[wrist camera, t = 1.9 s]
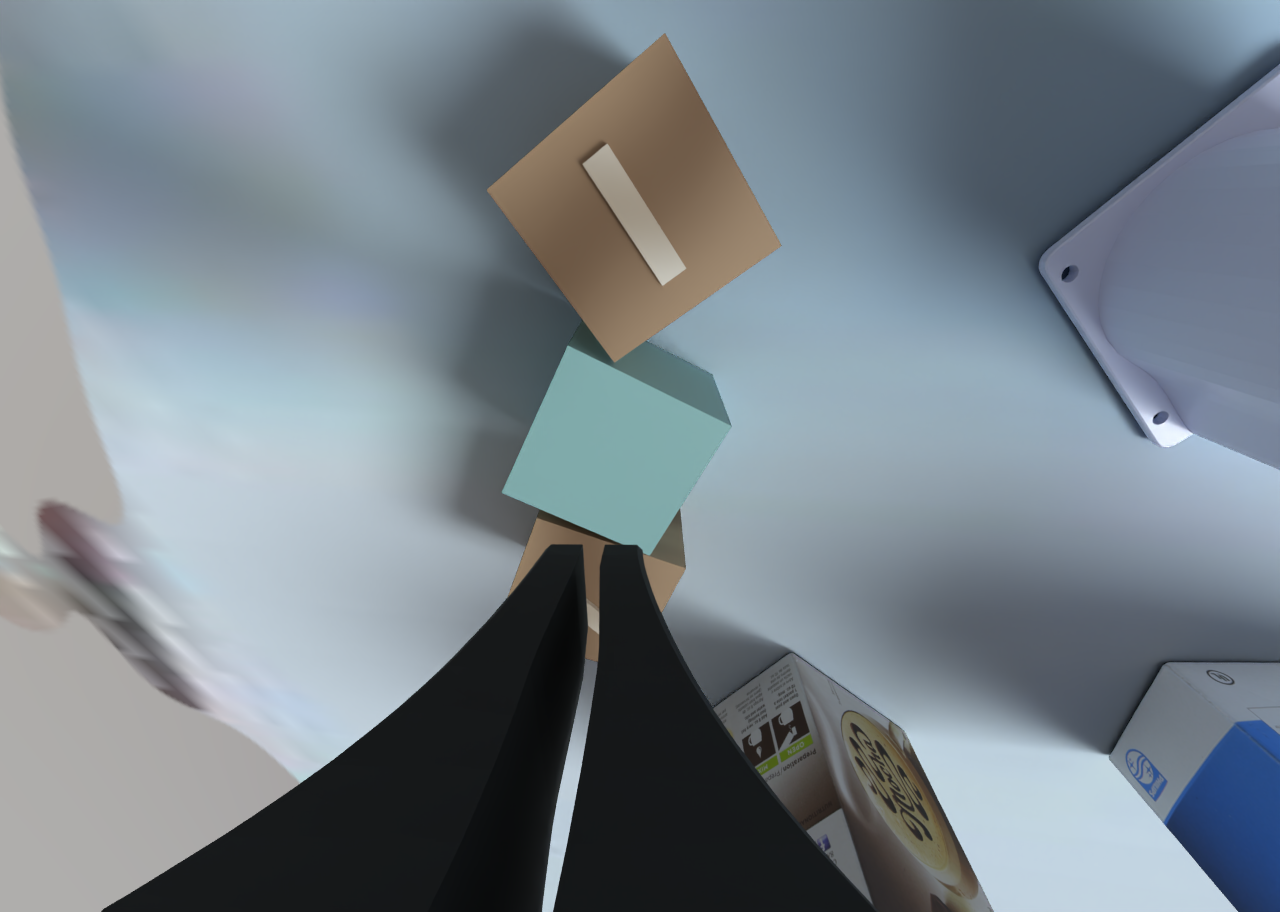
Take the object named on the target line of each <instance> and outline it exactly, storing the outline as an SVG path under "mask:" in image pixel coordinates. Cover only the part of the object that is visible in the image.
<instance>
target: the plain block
mask: <svg viewBox="0 0 1280 912" xmlns="http://www.w3.org/2000/svg"><path fill="white" fill-rule="evenodd" d="M731 427H732V426H731V423H730V420H729V418H728V415H727V412H726V410H725V407H724V404H723V402H722V399H721V396H720V394H719V391H718V388H717V386H716V383H715V381H714V378H713V375H712V374H710V373H708V372H706V371H704V370H702V369H700V368H698V367H696V366H694V365H692V364H690V363H688V362H686V361H684V360H683V359H681V358H679V357H677V356H675V355H673V354H671V353H669V352H667V351H665V350H663V349H661V348H659V347H657V346H655V345H653V344H651V343H649V342H647V341H645V342H643V343H642V344H640V345H639V346H638V347H636V348H635V349H633V350H632V351H630V352H629V353H628V354H626V355H625V356H623V357H622V358H620V359H619V360H618V361H616V362H615V363H614V362H613V360H612V359H611V357H610V356H609V355H608V353H607V352H606V351H605V349H604V348H603V347H602V345H601V344H600V343H599V341H598V340H597V339H596V337H595V336H594V335H593V333H592V332H591V330H590V329H589V328H588V326H587V325H586V324H585V322H584V321H583V320H582V322H581V323H580V325H579V327H578V329H577V330H576V332H575V334H574V335H573V337H572V339H571V341H570V342H569V344H568V346H567V348H566V350H565V353H564V355H563V357H562V359H561V362H560V364H559V366H558V368H557V370H556V373H555V375H554V377H553V379H552V382H551V384H550V386H549V388H548V390H547V393H546V395H545V397H544V399H543V402H542V404H541V406H540V408H539V411H538V413H537V415H536V417H535V419H534V422H533V424H532V426H531V428H530V431H529V433H528V435H527V437H526V439H525V442H524V444H523V446H522V448H521V451H520V453H519V455H518V457H517V460H516V462H515V464H514V466H513V468H512V471H511V473H510V475H509V477H508V480H507V482H506V484H505V486H504V488H503V491H502V493H503V494H505V495H508V496H510V497H512V498H515V499H517V500H519V501H522V502H524V503H526V504H529V505H531V506H534V507H536V508H538V509H541V510H543V511H545V512H548V513H550V514H552V515H555V516H557V517H559V518H562V519H564V520H567V521H569V522H571V523H574V524H576V525H578V526H581V527H583V528H585V529H588V530H590V531H592V532H595V533H597V534H599V535H602V536H604V537H607V538H609V539H611V540H614V541H616V542H618V543H621V544H623V545H638V546H639V547H640V548H641V549H642V550H643V553H644V554H647V555H649V556H650V554H651V553H652V551H653V550H654V548H655V547H656V545H657V543H658V542H659V540H660V539H661V537H662V536H663V534H664V532H665V531H666V529H667V528H668V526H669V525H670V523H671V521H672V520H673V518H674V517H675V515H676V513H677V512H678V510H679V509H680V507H681V506H682V504H683V502H684V501H685V499H686V498H687V496H688V495H689V493H690V491H691V490H692V488H693V487H694V485H695V483H696V482H697V480H698V479H699V477H700V476H701V474H702V472H703V471H704V469H705V468H706V466H707V465H708V463H709V461H710V460H711V458H712V457H713V455H714V454H715V452H716V450H717V449H718V447H719V446H720V444H721V442H722V441H723V439H724V438H725V436H726V435H727V433H728V431H729V430H730V428H731Z"/></svg>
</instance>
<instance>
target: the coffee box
mask: <svg viewBox="0 0 1280 912" xmlns="http://www.w3.org/2000/svg"><path fill="white" fill-rule="evenodd" d="M713 709H714V711H715V712H716V714H717V715H718V717H719V718H720V720H721V721H722V723H723V724H724V726H725V727H726V729H727V730H728V732H729V733H730V734H731V736H732V737H733V739H734V740H735V742H736V743H737V744H738V746H739V747H740V748H741V750H742V751H743V752H744V754H745V755H746V756H747V758H748V759H749V760H750V761H751V763H752V764H753V765H754V767H755V768H756V769H757V771H758V772H759V773H760V775H761V776H762V777H763V778H764V780H765V781H766V782H767V784H768V785H769V786H770V788H771V789H772V790H773V792H774V793H775V794H776V795H777V797H778V798H779V799H780V801H781V802H782V803H783V804H784V805H785V807H786V808H787V809H788V810H789V811H790V812H791V814H792V815H793V816H794V817H795V818H796V820H797V821H798V822H799V823H800V824H801V826H802V827H803V828H804V829H805V830H806V831H807V833H808V834H809V835H810V836H811V837H812V839H813V840H814V841H815V842H816V843H817V844H818V845H819V847H820V848H821V849H822V850H823V851H824V852H825V853H826V854H827V855H828V857H829V858H830V859H831V860H832V861H833V862H834V863H835V864H836V866H837V867H838V868H839V869H840V870H841V871H842V872H843V873H844V874H845V876H846V877H847V878H848V879H849V880H850V881H851V882H852V883H853V884H854V885H855V886H856V887H857V888H858V890H859V891H860V892H861V893H862V894H863V895H864V896H865V897H866V898H867V899H868V900H869V901H870V902H871V903H872V904H873V906H874V907H875V908H876V909H877V910H878V911H879V912H994V911H993V909H992V907H991V905H990V903H989V901H988V899H987V897H986V895H985V893H984V891H983V889H982V887H981V885H980V883H979V881H978V879H977V877H976V875H975V873H974V871H973V869H972V867H971V865H970V863H969V861H968V859H967V857H966V855H965V853H964V851H963V849H962V847H961V845H960V843H959V841H958V839H957V837H956V835H955V833H954V831H953V829H952V827H951V825H950V823H949V821H948V819H947V817H946V814H945V812H944V810H943V809H942V807H941V805H940V803H939V801H938V799H937V797H936V795H935V793H934V791H933V788H932V786H931V784H930V782H929V780H928V778H927V776H926V774H925V772H924V770H923V768H922V766H921V764H920V762H919V760H918V758H917V756H916V754H915V752H914V750H913V748H912V746H911V743H910V741H909V739H908V737H907V735H906V734H905V732H904V731H903V730H902V729H900V728H899V727H898V726H896V725H895V724H894V723H892V722H891V721H889V720H888V719H886V718H885V717H884V716H882V715H881V714H879V713H878V712H877V711H875V710H874V709H872V708H871V707H869V706H868V705H866V704H865V703H864V702H862V701H861V700H859V699H858V698H856V697H855V696H854V695H852V694H851V693H849V692H848V691H846V690H845V689H844V688H842V687H841V686H839V685H838V684H836V683H835V682H833V681H832V680H831V679H829V678H828V677H826V676H825V675H824V674H822V673H821V672H819V671H818V670H816V669H815V668H814V667H812V666H811V665H809V664H808V663H806V662H805V661H804V660H802V659H801V658H799V657H798V656H796V655H795V654H793V653H790V654H788V655H786V656H785V657H784V658H782V659H781V660H779V661H778V662H777V663H775V664H774V665H772V666H771V667H770V668H768V669H767V670H766V671H764V672H763V673H762V674H760V675H759V676H757V677H756V678H754V679H753V680H752V681H750V682H749V683H748V684H746V685H745V686H743V687H742V688H741V689H739V690H738V691H736V692H735V693H734V694H732V695H731V696H729V697H728V698H727V699H725V700H724V701H723V702H721V703H720V704H718V705H717V706H716V707H714V708H713Z"/></svg>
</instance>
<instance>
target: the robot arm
mask: <svg viewBox="0 0 1280 912" xmlns="http://www.w3.org/2000/svg"><path fill="white" fill-rule="evenodd" d="M1068 266H1069V268H1070V272H1069V274H1068V276H1067V277H1066V278H1065V279H1063V280H1062V278H1061V275H1062V272H1063V271H1064V269H1065V268H1066V267H1068ZM1039 270H1040V273H1041V275H1042V276H1043V278H1044V279H1045V281H1046V282H1047V284H1048V285H1049V287H1050V288H1051V290H1052V291H1053V293H1054V295H1055V296H1056V298H1057V299H1058V301H1059V302H1060V304H1061V305H1062V307H1063V308H1064V310H1065V311H1066V313H1067V315H1068V316H1069V318H1070V319H1071V321H1072V322H1073V324H1074V325H1075V327H1076V328H1077V330H1078V331H1079V333H1080V335H1081V336H1082V338H1083V339H1084V341H1085V342H1086V344H1087V345H1088V347H1089V348H1090V350H1091V351H1092V353H1093V354H1094V356H1095V358H1096V359H1097V361H1098V362H1099V364H1100V365H1101V367H1102V368H1103V370H1104V371H1105V373H1106V374H1107V376H1108V378H1109V379H1110V381H1111V382H1112V384H1113V385H1114V387H1115V388H1116V390H1117V391H1118V393H1119V394H1120V396H1121V397H1122V399H1123V401H1124V402H1125V404H1126V405H1127V407H1128V408H1129V410H1130V411H1131V413H1132V414H1133V416H1134V417H1135V419H1136V421H1137V422H1138V424H1139V425H1140V427H1141V428H1142V430H1143V431H1144V433H1145V434H1146V436H1147V437H1148V439H1149V441H1150V442H1152V443H1153V444H1155V445H1157V446H1159V447H1163V448H1167V447H1171V446H1174V445H1176V444H1178V443H1179V442H1181V441H1182V440H1184V439H1186V438H1187V437H1189V436H1191V435H1192V434H1196V435H1198V436H1200V437H1203V438H1205V439H1208V440H1210V441H1212V442H1215V443H1217V444H1219V445H1222V446H1224V447H1227V448H1229V449H1231V450H1234V451H1236V452H1239V453H1241V454H1243V455H1246V456H1248V457H1250V458H1253V459H1255V460H1258V461H1260V462H1262V463H1265V464H1267V465H1269V466H1272V467H1274V468H1277V469H1279V470H1280V64H1279V65H1278V66H1277V67H1275V68H1274V69H1273V70H1271V71H1270V72H1269V73H1268V74H1266V75H1265V76H1264V77H1263V78H1261V79H1260V80H1259V81H1258V82H1256V83H1255V84H1254V85H1253V86H1251V87H1250V88H1249V89H1248V90H1246V91H1245V92H1244V93H1243V94H1241V95H1240V96H1239V97H1238V98H1236V99H1235V100H1234V101H1233V102H1231V103H1230V104H1229V105H1228V106H1226V107H1225V108H1224V109H1223V110H1221V111H1220V112H1219V113H1218V114H1216V115H1215V116H1214V117H1213V118H1211V119H1210V120H1209V121H1208V122H1206V123H1205V124H1204V125H1203V126H1201V127H1200V128H1199V129H1198V130H1196V131H1195V132H1194V133H1193V134H1191V135H1190V136H1189V137H1188V138H1186V139H1185V140H1184V141H1183V142H1181V143H1180V144H1179V145H1178V146H1176V147H1175V148H1174V149H1173V150H1171V151H1170V152H1169V153H1168V154H1166V155H1165V156H1164V157H1163V158H1161V159H1160V160H1159V161H1158V162H1156V163H1155V164H1154V165H1153V166H1151V167H1150V168H1149V169H1148V170H1146V171H1145V172H1144V173H1143V174H1141V175H1140V176H1139V177H1138V178H1136V179H1135V180H1134V181H1133V182H1131V183H1130V184H1129V185H1128V186H1126V187H1125V188H1124V189H1123V190H1121V191H1120V192H1119V193H1118V194H1116V195H1115V196H1114V197H1113V198H1111V199H1110V200H1109V201H1108V202H1106V203H1105V204H1104V205H1103V206H1101V207H1100V208H1099V209H1098V210H1096V211H1095V212H1094V213H1093V214H1091V215H1090V216H1089V217H1088V218H1086V219H1085V220H1084V221H1083V222H1081V223H1080V224H1079V225H1078V226H1076V227H1075V228H1074V229H1073V230H1071V231H1070V232H1069V233H1068V234H1066V235H1065V236H1064V237H1063V238H1061V239H1060V240H1059V241H1058V242H1056V243H1055V244H1054V245H1053V246H1051V247H1050V248H1049V249H1048V250H1047V251H1046V252H1045V253H1044V254H1043V255H1042V257H1041V259H1040V261H1039ZM1157 413H1158V415H1157V417H1155V418H1154V419H1153V417H1154V416H1155V415H1156V414H1157ZM587 633H588V616H587V601H586V585H585V570H584V554H583V544H551V545H550V546H549V547H548V548H546V549H545V551H544V552H543V554H542V555H541V556H540V558H539V559H538V560H537V561H536V563H535V564H534V565H533V567H532V568H531V569H530V571H529V572H528V573H527V574H526V576H525V577H524V578H523V580H522V581H521V582H520V583H519V585H518V586H517V587H516V588H515V589H514V591H513V592H512V593H511V594H510V595H509V597H508V598H507V599H506V600H505V601H504V602H503V604H502V605H501V606H500V607H499V608H498V609H497V611H496V612H495V613H494V614H493V615H492V616H491V618H490V619H489V620H488V621H487V622H486V623H485V624H484V625H483V626H482V627H481V629H480V630H479V631H478V632H477V633H476V634H475V635H474V636H473V637H472V638H471V639H470V640H469V641H468V642H467V643H466V644H465V645H464V646H463V647H462V648H461V649H460V651H459V652H458V653H457V654H456V655H455V656H454V657H453V658H452V659H451V660H450V661H449V662H448V663H447V664H446V665H445V666H444V667H443V668H442V669H440V670H439V671H438V672H437V673H436V674H435V675H434V676H433V677H432V678H431V679H430V680H429V681H428V682H427V683H426V684H425V685H423V686H422V687H421V688H420V689H419V690H418V691H417V692H416V693H414V694H413V695H412V696H411V697H410V698H409V699H408V700H407V701H406V702H404V703H403V704H402V705H401V706H400V707H399V708H397V709H396V710H395V711H394V712H393V713H391V714H390V715H389V716H388V717H386V718H385V719H384V720H383V721H382V722H380V723H379V724H378V725H377V726H376V727H374V728H373V729H372V730H371V731H369V732H368V733H367V734H365V735H364V736H363V737H362V738H360V739H359V740H358V741H357V742H355V743H354V744H353V745H351V746H350V747H349V748H348V749H346V750H345V751H344V752H343V753H341V754H340V755H339V756H338V757H336V758H335V759H334V760H332V761H331V762H329V763H328V764H327V765H325V766H324V767H323V768H321V769H320V770H318V771H317V772H316V773H314V774H313V775H311V776H310V777H309V778H307V779H306V780H305V781H303V782H302V783H300V784H299V785H298V786H296V787H295V788H293V789H292V790H290V791H289V792H288V793H286V794H285V795H283V796H282V797H280V798H279V799H277V800H276V801H274V802H273V803H271V804H270V805H269V806H267V807H266V808H264V809H263V810H261V811H260V812H258V813H257V814H255V815H254V816H252V817H251V818H249V819H248V820H246V821H245V822H243V823H242V824H240V825H239V826H237V827H236V828H234V829H233V830H231V831H229V832H228V833H226V834H225V835H223V836H222V837H220V838H219V839H217V840H215V841H214V842H212V843H211V844H209V845H208V846H206V847H204V848H202V849H201V850H199V851H198V852H196V853H194V854H193V855H191V856H190V857H188V858H187V859H185V860H183V861H182V862H180V863H178V864H177V865H175V866H174V867H172V868H170V869H169V870H167V871H165V872H164V873H162V874H161V875H159V876H157V877H156V878H154V879H153V880H151V881H149V882H148V883H146V884H144V885H143V886H141V887H140V888H138V889H136V890H135V891H133V892H131V893H130V894H128V895H126V896H125V897H123V898H121V899H120V900H118V901H116V902H115V903H113V904H111V905H109V906H108V907H106V908H104V909H103V910H102V911H101V912H542V905H543V896H544V888H545V880H546V873H547V865H548V857H549V849H550V841H551V833H552V826H553V820H554V815H555V809H556V803H557V798H558V793H559V788H560V784H561V779H562V774H563V770H564V765H565V760H566V756H567V751H568V746H569V742H570V737H571V732H572V728H573V723H574V718H575V713H576V709H577V704H578V699H579V694H580V690H581V685H582V680H583V673H584V664H585V654H586V644H587ZM553 912H879V911H878V910H877V909H876V908H875V907H874V906H873V904H872V903H871V902H870V901H869V900H868V899H867V898H866V897H865V896H864V895H863V894H862V893H861V892H860V891H859V890H858V888H857V887H856V886H855V885H854V884H853V883H852V882H851V881H850V880H849V879H848V878H847V877H846V876H845V874H844V873H843V872H842V871H841V870H840V869H839V868H838V867H837V866H836V864H835V863H834V862H833V861H832V860H831V859H830V858H829V857H828V855H827V854H826V853H825V852H824V851H823V850H822V849H821V848H820V847H819V845H818V844H817V843H816V842H815V841H814V840H813V839H812V837H811V836H810V835H809V834H808V833H807V831H806V830H805V829H804V828H803V827H802V826H801V824H800V823H799V822H798V821H797V820H796V818H795V817H794V816H793V815H792V814H791V812H790V811H789V810H788V809H787V808H786V807H785V805H784V804H783V803H782V802H781V801H780V799H779V798H778V797H777V795H776V794H775V793H774V792H773V790H772V789H771V788H770V786H769V785H768V784H767V782H766V781H765V780H764V778H763V777H762V776H761V775H760V773H759V772H758V771H757V769H756V768H755V767H754V765H753V764H752V763H751V761H750V760H749V759H748V758H747V756H746V755H745V754H744V752H743V751H742V750H741V748H740V747H739V746H738V744H737V743H736V742H735V740H734V739H733V737H732V736H731V734H730V733H729V732H728V730H727V729H726V727H725V726H724V724H723V723H722V721H721V720H720V718H719V717H718V715H717V714H716V712H715V711H714V709H713V708H712V706H711V705H710V703H709V701H708V700H707V698H706V697H705V695H704V693H703V692H702V690H701V689H700V687H699V685H698V684H697V682H696V680H695V679H694V677H693V675H692V673H691V672H690V670H689V668H688V666H687V664H686V663H685V661H684V659H683V657H682V655H681V653H680V651H679V649H678V647H677V645H676V644H675V642H674V640H673V637H672V635H671V633H670V631H669V629H668V627H667V625H666V622H665V620H664V618H663V616H662V613H661V611H660V609H659V606H658V604H657V602H656V599H655V596H654V594H653V591H652V588H651V585H650V582H649V579H648V576H647V572H646V569H645V564H644V559H643V550H642V549H641V548H640V547H639V546H638V545H605V546H604V550H603V554H602V558H601V563H600V578H599V653H598V668H597V675H596V681H595V688H594V694H593V701H592V707H591V714H590V720H589V726H588V732H587V738H586V744H585V750H584V755H583V761H582V767H581V773H580V778H579V784H578V789H577V794H576V800H575V805H574V810H573V816H572V821H571V826H570V832H569V837H568V843H567V847H566V852H565V857H564V862H563V867H562V872H561V876H560V881H559V886H558V891H557V896H556V900H555V905H554V910H553Z"/></svg>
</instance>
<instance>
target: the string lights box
mask: <svg viewBox="0 0 1280 912" xmlns="http://www.w3.org/2000/svg"><path fill="white" fill-rule="evenodd" d="M1109 760H1110V761H1111V762H1112V763H1113V764H1114V766H1115V767H1116V768H1117V769H1118V770H1119V771H1120V772H1121V774H1122V775H1123V776H1124V777H1125V778H1126V779H1127V781H1128V782H1129V783H1130V784H1131V785H1132V787H1133V788H1134V789H1135V790H1136V791H1137V793H1138V794H1139V795H1140V796H1141V797H1142V799H1143V800H1144V801H1145V802H1146V803H1147V804H1148V806H1149V807H1150V808H1151V809H1152V810H1153V811H1154V812H1155V814H1156V815H1157V816H1158V817H1159V818H1160V820H1161V821H1162V822H1163V823H1164V824H1165V826H1166V827H1167V828H1168V829H1169V830H1170V831H1171V833H1172V834H1173V835H1174V836H1175V837H1176V838H1177V840H1178V841H1179V842H1180V843H1181V844H1182V846H1183V847H1184V848H1185V849H1186V850H1187V851H1188V853H1189V854H1190V855H1191V856H1192V857H1193V859H1194V860H1195V861H1196V862H1197V863H1198V865H1199V866H1200V867H1201V868H1202V869H1203V871H1204V872H1205V873H1206V874H1207V875H1208V877H1209V878H1210V879H1211V880H1212V881H1213V882H1214V884H1215V885H1216V886H1217V887H1218V888H1219V890H1220V891H1221V892H1222V893H1223V894H1224V895H1225V897H1226V898H1227V899H1228V900H1229V901H1230V903H1231V904H1232V905H1233V906H1234V907H1235V908H1236V910H1237V911H1238V912H1280V663H1244V662H1168V663H1166V664H1164V665H1163V666H1162V667H1161V669H1160V671H1159V673H1158V675H1157V676H1156V678H1155V680H1154V682H1153V683H1152V685H1151V687H1150V688H1149V690H1148V691H1147V693H1146V695H1145V696H1144V698H1143V700H1142V701H1141V703H1140V705H1139V706H1138V708H1137V710H1136V711H1135V713H1134V715H1133V717H1132V718H1131V720H1130V722H1129V723H1128V725H1127V727H1126V729H1125V730H1124V732H1123V734H1122V735H1121V737H1120V739H1119V741H1118V743H1117V744H1116V746H1115V748H1114V750H1113V751H1112V753H1111V754H1110V756H1109Z"/></svg>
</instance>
